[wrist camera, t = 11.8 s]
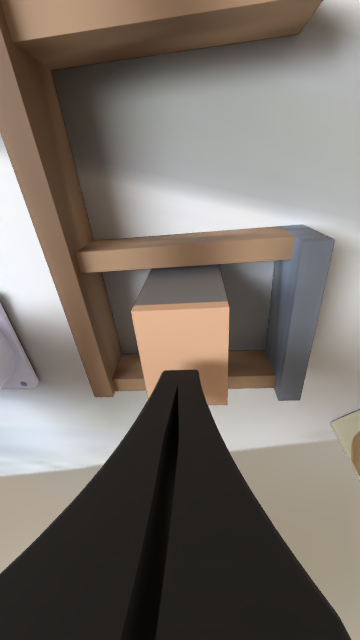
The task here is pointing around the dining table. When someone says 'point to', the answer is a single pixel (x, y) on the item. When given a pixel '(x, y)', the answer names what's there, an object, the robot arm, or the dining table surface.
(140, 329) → the tan box
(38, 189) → the divider rack
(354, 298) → the dining table surface
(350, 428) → the skincare box
